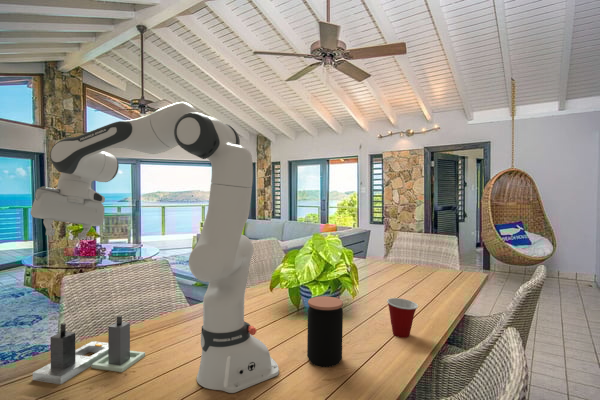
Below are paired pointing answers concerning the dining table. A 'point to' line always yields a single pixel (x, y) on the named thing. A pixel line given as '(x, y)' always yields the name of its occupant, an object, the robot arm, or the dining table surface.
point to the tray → (104, 365)
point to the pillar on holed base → (68, 358)
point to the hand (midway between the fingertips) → (66, 237)
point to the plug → (118, 342)
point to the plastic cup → (401, 316)
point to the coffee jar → (325, 331)
